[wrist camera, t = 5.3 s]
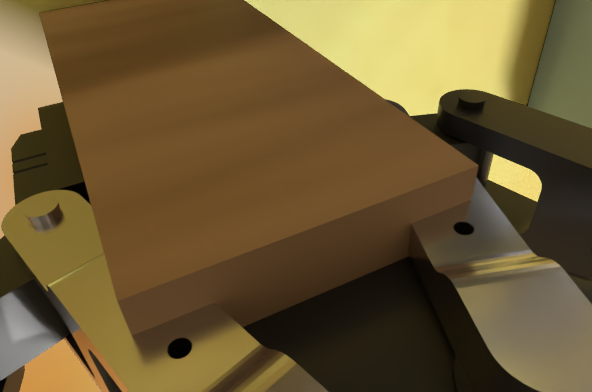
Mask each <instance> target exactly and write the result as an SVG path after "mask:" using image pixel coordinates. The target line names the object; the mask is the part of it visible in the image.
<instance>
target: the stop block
mask: <svg viewBox="0 0 592 392" xmlns="http://www.w3.org/2000/svg"><path fill="white" fill-rule="evenodd" d="M39 14H40V18H41V22H42V25H43V29H44V33H45V37H46V40H47V44H48V48H49V51H50V55H51V59H52V62H53V66H54V70H55V73H56V77H57V81H58V85H59V88H60V92H61V96H62V99H63V103H64V107H65V110H66V114H67V118H68V121H69V125H70V129H71V133H72V136H73V140H74V144H75V147H76V151H77V155H78V158H79V162H80V166H81V170H82V173H83V177H84V181H85V184H86V188H87V192H88V195H89V199H90V203H91V206H92V210H93V214H94V218H95V221H96V225H97V229H98V232H99V236H100V240H101V243H102V247H103V251H104V254H105V258H106V262H107V266H108V269H109V273H110V277H111V280H112V284H113V288H114V291H115V295H116V299H117V302H118V304H119V307H120V309H121V312H122V314H123V316H124V319H125V321H126V323H127V326H128V328H129V331H130V333H131V335H135V334H137V333H140V332H142V331H145V330H147V329H150V328H152V327H155V326H157V325H160V324H162V323H165V322H167V321H170V320H172V319H175V318H177V317H180V316H182V315H185V314H187V313H190V312H192V311H195V310H197V309H200V308H202V307H205V306H207V305H210V304H212V303H216V304H217V305H218V306H219V307H221V308H222V309H223V310H224V311H225V312H226V313H227V314H228V315H229V316H230V317H231V318H233V319H234V320H235V321H236V322H237V323H238V324H239V325H240V326H241V327H244V326H246V325H249V324H251V323H253V322H256V321H258V320H260V319H263V318H265V317H267V316H270V315H272V314H274V313H277V312H279V311H282V310H284V309H286V308H289V307H291V306H293V305H296V304H298V303H300V302H303V301H305V300H307V299H310V298H312V297H314V296H317V295H319V294H321V293H324V292H326V291H329V290H331V289H333V288H336V287H338V286H340V285H343V284H345V283H347V282H350V281H352V280H354V279H357V278H359V277H361V276H364V275H366V274H368V273H371V272H373V271H376V270H378V269H380V268H383V267H385V266H387V265H390V264H392V263H394V262H397V261H399V260H401V259H404V258H406V257H408V256H409V254H408V245H409V237H410V229H411V224H412V223H414V222H417V221H419V220H422V219H424V218H427V217H429V216H432V215H434V214H437V213H439V212H442V211H444V210H447V209H449V208H452V207H454V206H457V205H459V204H462V203H464V202H467V201H469V200H471V198H472V194H473V189H474V185H475V180H476V176H477V171H478V166H479V165H477V164H476V163H475V162H473V161H472V160H470V159H469V158H467V157H466V156H465V155H463V154H462V153H460V152H459V151H457V150H456V149H455V148H453V147H452V146H450V145H449V144H448V143H446V142H445V141H443V140H442V139H440V138H439V137H438V136H436V135H435V134H433V133H432V132H430V131H429V130H428V129H426V128H425V127H423V126H422V125H421V124H419V123H418V122H416V121H415V120H413V119H412V118H411V117H409V116H408V115H406V114H405V113H403V112H402V111H401V110H399V109H398V108H396V107H395V106H394V105H392V104H391V103H389V102H388V101H386V100H385V99H384V98H382V97H381V96H379V95H378V94H376V93H375V92H374V91H372V90H371V89H369V88H368V87H367V86H365V85H364V84H362V83H361V82H359V81H358V80H357V79H355V78H354V77H352V76H351V75H349V74H348V73H347V72H345V71H344V70H342V69H341V68H340V67H338V66H337V65H335V64H334V63H332V62H331V61H330V60H328V59H327V58H325V57H324V56H322V55H321V54H320V53H318V52H317V51H315V50H314V49H313V48H311V47H310V46H308V45H307V44H305V43H304V42H303V41H301V40H300V39H298V38H297V37H295V36H294V35H293V34H291V33H290V32H288V31H287V30H285V29H284V28H283V27H281V26H280V25H278V24H277V23H276V22H274V21H273V20H271V19H270V18H268V17H267V16H266V15H264V14H263V13H261V12H260V11H258V10H257V9H256V8H254V7H253V6H251V5H250V4H249V3H247V2H246V1H244V0H108V1H102V2H97V3H91V4H86V5H80V6H75V7H69V8H64V9H58V10H53V11H47V12H42V13H39Z"/></svg>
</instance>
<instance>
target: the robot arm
mask: <svg viewBox="0 0 592 392" xmlns="http://www.w3.org/2000/svg"><path fill="white" fill-rule="evenodd" d="M386 101H388V102H389V103H391V104H392V105H394V106H395V107H396V108H398V109H399V110H401V111H402V112H403V113H405V114H406V115H408V113H407V112H406V110H405V109H404V108H403V107H402V106H401V105H399V104H398V103H395V102H393V101H390V100H386ZM38 110H39V117H40V122H41V128H42V130H38V131H34V132H30V133H26V134H22V135H20V137H19V138H18V140H17V141H16V142H15V144H14V145H13V147H12V149H11V152H12V162H13V165H12V166H13V173H14V175H13V179H14V193H15V206H14V207H13V208H12V209H11V210H10V211H9V212H8V213H7V214H6V215H5V217H4V219H3V221H2V225H1V227H2V231H3V233H4V236H3V237H2V238H1V239H0V392H19V391H20V387H21V383H22V379H23V376H24V371H25V369H24V365H25V364H26V363H28V362H29V361H31V360H32V359H34V358H35V357H37V356H38V355H40V354H41V353H43V352H44V351H46V350H47V349H49V348H50V347H52V346H53V345H55V344H56V343H58V342H59V341H60V340H62V339H64V340H65V341H66V343H67V344H68V345H69V347H70V348H71V350H72V351H73V352H74V354H75V355H76V357H77V358H78V359H79V361H80V362H81V364H82V365H83V366H84V368H85V369H86V371H87V372H88V373H89V375H90V376H91V378H92V379H93V380H94V382H95V383H96V385H97V386H98V388H99V389H100V390H101V392H592V128H589V127H586V126H583V125H581V124H578V123H575V122H572V121H569V120H566V119H563V118H560V117H557V116H554V115H551V114H548V113H545V112H542V111H540V110H537V109H534V108H531V107H528V106H525V105H522V104H519V103H516V102H513V101H510V100H507V99H504V98H501V97H498V96H496V95H493V94H490V93H487V92H483V91H478V90H468V89H466V90H455V91H451V92H448V93H446V94H444V95H443V96H442V97H441V98H440V101H439V107H438V113H437V114H427V115H417V116H409V115H408V116H409V117H411V118H412V119H413V120H415V121H416V122H418V123H419V124H421V125H422V126H423V127H425V128H426V129H428V130H429V131H430V132H432V133H433V134H435V135H436V136H438V137H439V138H440V139H442V140H443V141H445V142H446V143H448V144H449V145H450V146H452V147H453V148H455V149H456V150H457V151H459V152H460V153H462V154H463V155H465V156H466V157H467V158H469V159H470V160H472V161H473V162H475V163H476V164H477V165H479V166H478V171H477V176H476V180H475V185H474V189H473V194H472V198H471V200H469V201H467V202H464V203H462V204H459V205H457V206H454V207H452V208H449V209H447V210H444V211H442V212H439V213H437V214H434V215H432V216H429V217H427V218H424V219H422V220H419V221H417V222H414V223H412V224H411V229H410V237H409V245H408V254H409V256H408V257H406V258H404V259H401V260H399V261H397V262H394V263H392V264H390V265H387V266H385V267H383V268H380V269H378V270H376V271H373V272H371V273H368V274H366V275H364V276H361V277H359V278H357V279H354V280H352V281H350V282H347V283H345V284H343V285H340V286H338V287H336V288H333V289H331V290H329V291H326V292H324V293H321V294H319V295H317V296H314V297H312V298H310V299H307V300H305V301H303V302H300V303H298V304H296V305H293V306H291V307H289V308H286V309H284V310H282V311H279V312H277V313H274V314H272V315H270V316H267V317H265V318H263V319H260V320H258V321H256V322H253V323H251V324H249V325H246V326H244V327H241V326H240V325H239V324H238V323H237V322H236V321H235V320H234V319H233V318H231V317H230V316H229V315H228V314H227V313H226V312H225V311H224V310H223V309H222V308H221V307H219V306H218V305H217V304H216V303H212V304H210V305H207V306H205V307H202V308H200V309H197V310H195V311H192V312H190V313H187V314H185V315H182V316H180V317H177V318H175V319H172V320H170V321H167V322H165V323H162V324H160V325H157V326H155V327H152V328H150V329H147V330H145V331H142V332H140V333H137V334H135V335H131V333H130V331H129V328H128V326H127V323H126V321H125V319H124V316H123V314H122V312H121V309H120V307H119V304H118V302H117V299H116V295H115V291H114V288H113V284H112V280H111V277H110V273H109V269H108V266H107V262H106V258H105V254H104V251H103V247H102V243H101V240H100V236H99V232H98V229H97V225H96V221H95V218H94V214H93V210H92V206H91V203H90V199H89V195H88V192H87V188H86V184H85V181H84V177H83V173H82V170H81V166H80V162H79V158H78V155H77V151H76V147H75V144H74V140H73V136H72V133H71V129H70V125H69V121H68V118H67V114H66V110H65V107H64V103H63V102H61V103H57V104H53V105H49V106H44V107H40V108H38ZM493 154H495V155H498V156H500V157H503V158H505V159H507V160H510V161H512V162H514V163H517V164H519V165H522V166H524V167H526V168H529V169H531V170H532V171H534V172H535V173H536V174H537V175H538V176H539V178H540V180H541V183H542V190H541V193H540V196H539V199H538V202H536V201H533V200H531V199H529V198H527V197H525V196H522V195H520V194H518V193H516V192H514V191H512V190H509V189H507V188H505V187H503V186H501V185H498V184H496V183H494V182H492V181H490V180H487V179H488V175H489V171H490V166H491V162H492V158H493Z"/></svg>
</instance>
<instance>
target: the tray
mask: <svg viewBox="0 0 592 392" xmlns="http://www.w3.org/2000/svg"><path fill="white" fill-rule="evenodd" d="M528 107H531V108H534V109H537V110H540V111H542V112H545V113H548V114H551V115H554V116H557V117H560V118H563V119H566V120H569V121H572V122H575V123H578V124H581V125H583V126H586V127H589V128H592V0H556V2H555V6H554V10H553V14H552V17H551V21H550V25H549V28H548V32H547V36H546V39H545V43H544V47H543V51H542V54H541V58H540V62H539V65H538V69H537V73H536V76H535V80H534V84H533V87H532V91H531V95H530V99H529V102H528Z"/></svg>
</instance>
